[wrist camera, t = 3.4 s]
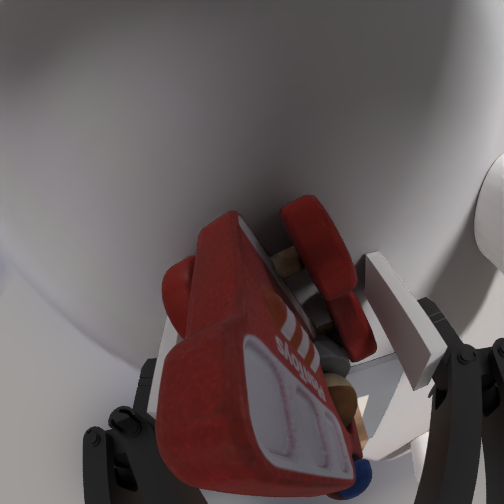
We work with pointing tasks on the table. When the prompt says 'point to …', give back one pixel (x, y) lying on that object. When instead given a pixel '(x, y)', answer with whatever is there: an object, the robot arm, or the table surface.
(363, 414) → the mat
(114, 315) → the table surface
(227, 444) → the toy fire truck
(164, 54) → the table surface
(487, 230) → the mug
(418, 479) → the cup
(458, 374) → the robot arm
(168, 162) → the table surface
